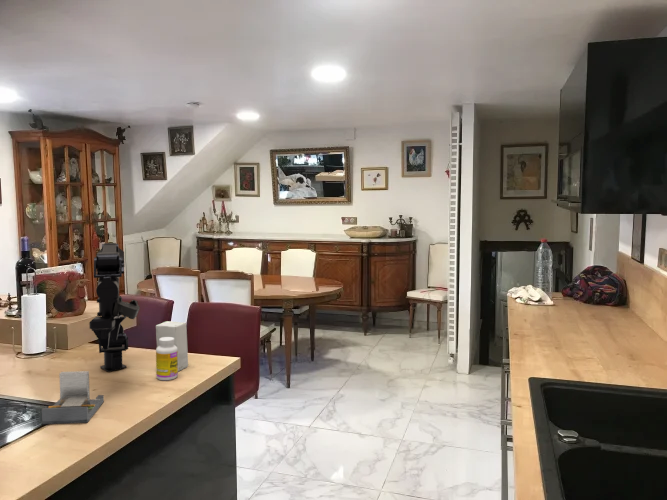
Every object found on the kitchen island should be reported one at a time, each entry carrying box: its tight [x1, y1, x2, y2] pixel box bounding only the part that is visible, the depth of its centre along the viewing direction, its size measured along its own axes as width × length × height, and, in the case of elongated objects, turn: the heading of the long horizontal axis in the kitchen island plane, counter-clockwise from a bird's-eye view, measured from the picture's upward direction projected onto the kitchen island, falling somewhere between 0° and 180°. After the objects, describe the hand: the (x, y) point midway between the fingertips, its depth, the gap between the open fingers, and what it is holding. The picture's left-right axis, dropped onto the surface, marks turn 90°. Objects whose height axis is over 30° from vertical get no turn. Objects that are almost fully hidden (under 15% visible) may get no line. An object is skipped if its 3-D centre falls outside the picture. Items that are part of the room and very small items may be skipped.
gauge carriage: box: [47, 370, 95, 408], centre depth 141 cm, size 4×12×10 cm, turn 97°
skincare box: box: [155, 320, 189, 372], centre depth 179 cm, size 8×7×16 cm
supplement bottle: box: [155, 337, 179, 381], centre depth 170 cm, size 7×7×13 cm
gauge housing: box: [41, 394, 105, 425], centre depth 142 cm, size 14×11×4 cm
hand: (110, 344), depth 161 cm, fingers open, 9 cm apart
